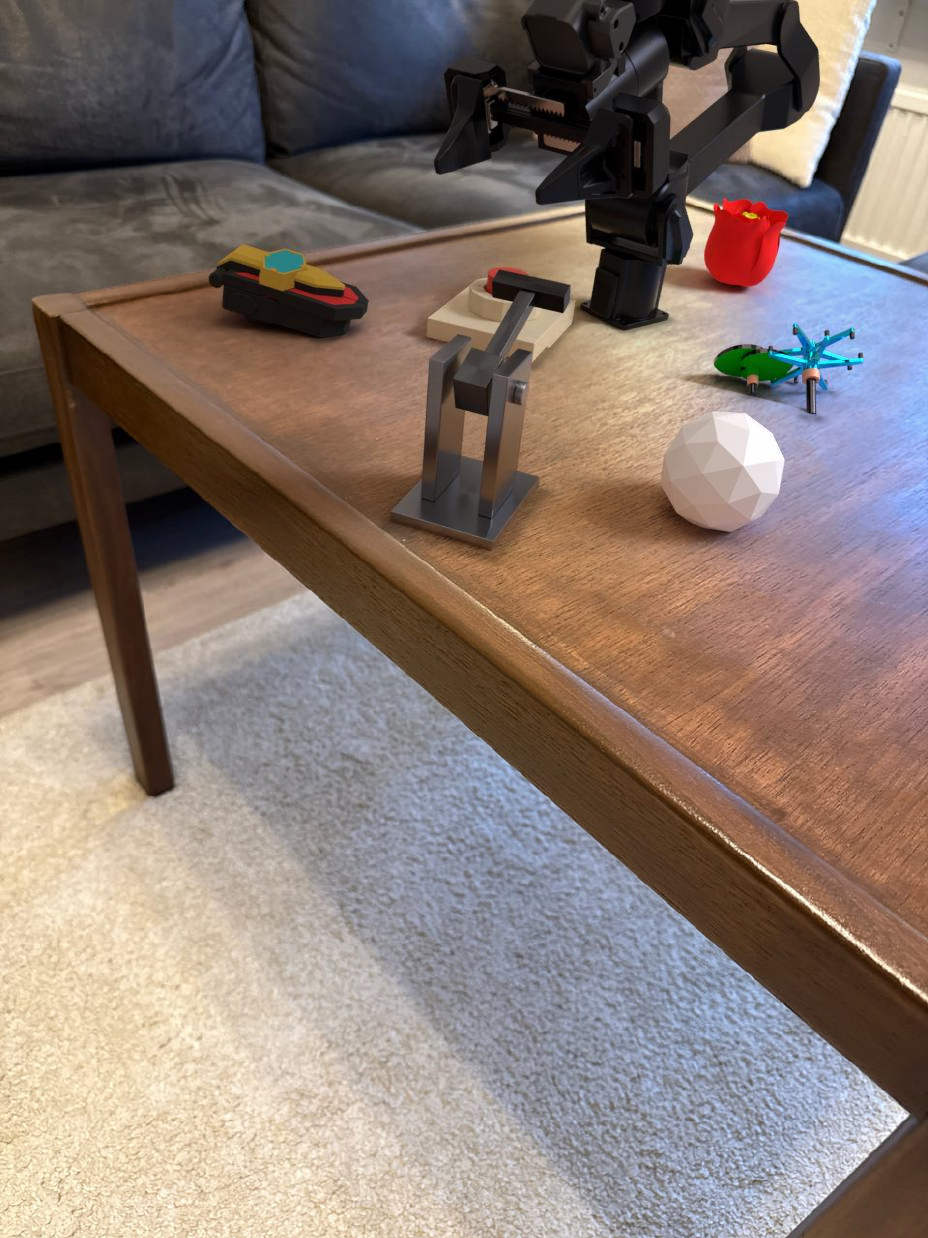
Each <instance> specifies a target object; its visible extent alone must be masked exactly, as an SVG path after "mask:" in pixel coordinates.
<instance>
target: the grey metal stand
mask: <svg viewBox="0 0 928 1238" xmlns="http://www.w3.org/2000/svg"><path fill="white" fill-rule="evenodd" d="M471 342H472V337H469V336H465V335H460V334H457V335H456V336H455V337H454V338H452V339H451V340H450V341H449V342H446V343H445V344H444V345H443V346H442V347H440V348H439V349H438V350H437V351H436V352H435V353H434V354H432V355H431V356H430V357H429V359H428V371H427V373H428V375H427V390H426V406H425V421H424V422H425V424H424V437H423V438H424V440H423V453H422V455H423V456H422V469H421V470H422V471H421V478H420V480H418V482H416V483H415V485H414V486H413V487H412V488H411V489H409V491H408V492H407V493H406V494H405V495H404V497H403V498H402V499H401V500H400V501H398V503H397V504H396V505H395V506H394V507H393V508H392V509H391V510H390V521H391V522H395V523H399V524H401V525H405V526H408V527H410V528H411V527H412V528H414V529H418V530H422V531H425V532H428V533H432V534H435V535H438V536H441V537H445V538H448V539H452V540H455V541H457V542H462V543H465V544H468V545H471V546H474V547H478V548H481V549H484V550H488V551H494V550H495V548H496V547H497V545H498V543H499V542H500V541H501V539H502V538H503V537H504V536H505V534H506V532H507V531H508V529H509V528H510V527H511V525H512V524H513V523H514V522H515V520H516V518H517V517H518V516H519V514H520V513H521V512H522V510H523V509H524V508H525V506H526V504H527V503H528V501H529V500H530V499H531V497H532V496H533V495H534V493H535V492H536V491H537V489H538V488H539V486H540V479H541V477H540V476H538V475H535V474H531V473H527V472H523V471H520V470H518V466H519V461H520V460H519V459H520V451H521V443H522V436H523V429H524V421H525V414H526V406H527V400H528V396H529V394H530V393H529V392H530V377H531V369H532V363H533V362H532V355H533V352H531V351H527V350H523V349H517V350H516V351H515V352H514V353H513V354H512V355H511V356H510V357H508V358H506V359H505V360H504V363H503V364H502V365H501V366H500V367H499V368H498V369H497V370H496V371H495V372H494V373H493V375H492V384H491V394H490V403H489V413H488V416H487V423H486V432H485V433H486V434H485V442H484V451H483V460H479V459H476V458H473V457H469V456H466V455H462V454H463V453H462V452H463V441H464V431H465V420H466V419H465V418H466V411H465V410H461V409H457V408H455V398H454V386H453V378H454V376H455V375H456V373H457V371H458V370H459V368H460V366H461V364H462V363H463V361H464V359H465V358H466V356H467V354H468V353H469V351H470V349H472V348H471Z"/></svg>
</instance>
